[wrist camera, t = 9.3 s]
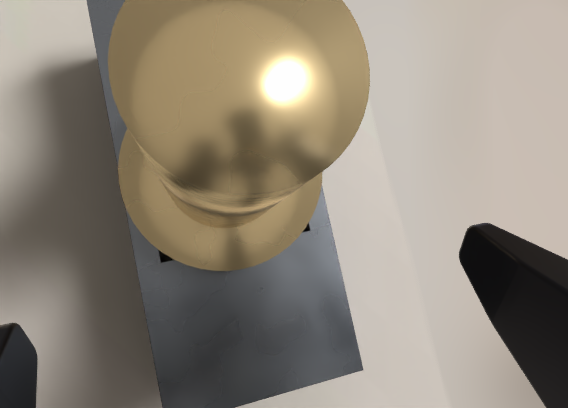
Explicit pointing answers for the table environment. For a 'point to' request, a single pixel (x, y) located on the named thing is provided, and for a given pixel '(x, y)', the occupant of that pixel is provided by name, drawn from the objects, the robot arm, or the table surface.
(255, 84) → the brass pin
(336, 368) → the steel hitch block
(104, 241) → the table surface
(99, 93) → the table surface
